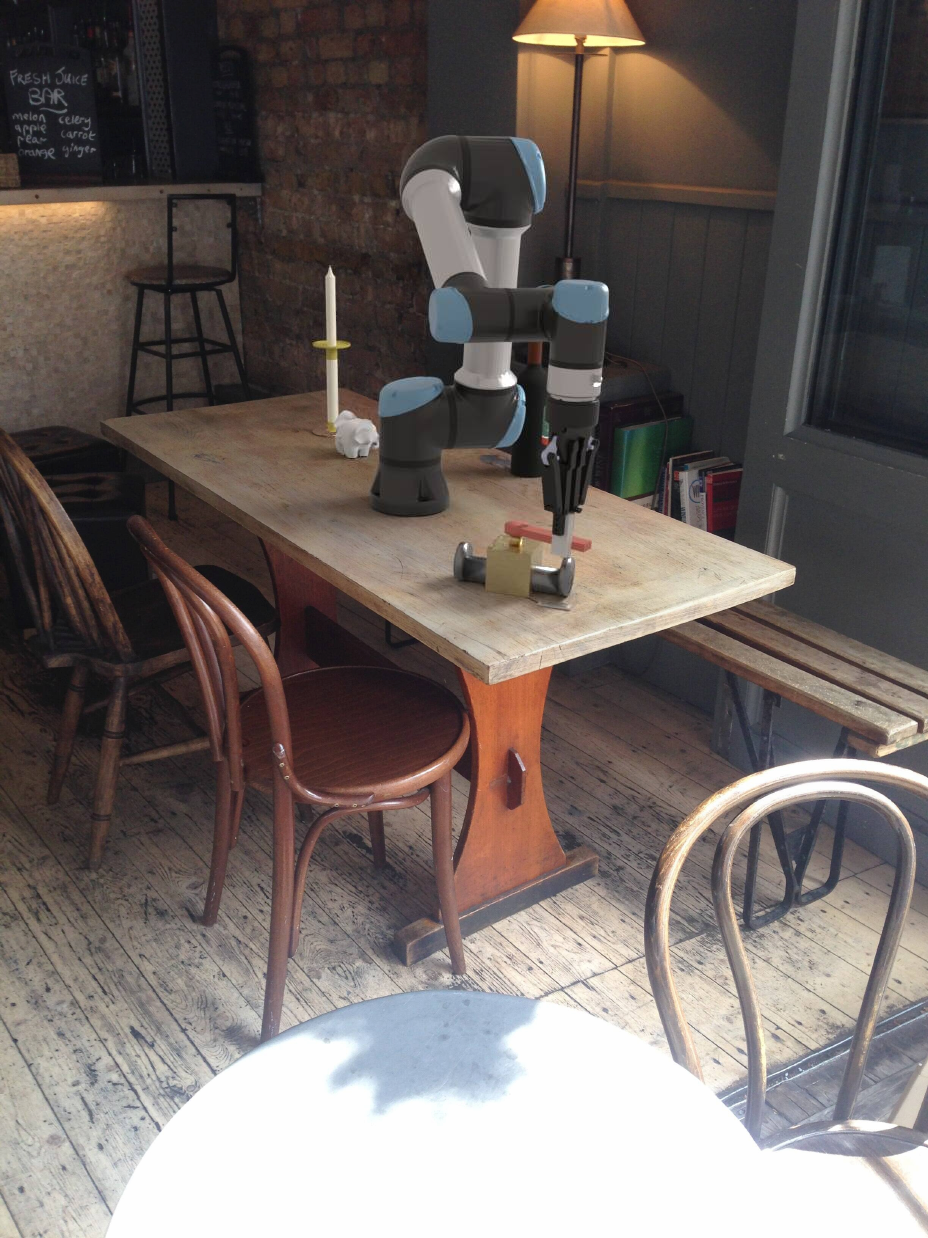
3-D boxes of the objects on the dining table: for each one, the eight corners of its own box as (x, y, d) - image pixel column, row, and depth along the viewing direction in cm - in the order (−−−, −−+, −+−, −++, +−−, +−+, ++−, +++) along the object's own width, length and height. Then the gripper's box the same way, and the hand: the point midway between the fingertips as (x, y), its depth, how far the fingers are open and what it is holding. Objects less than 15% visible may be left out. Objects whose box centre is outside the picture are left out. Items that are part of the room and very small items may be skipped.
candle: (352, 438, 251) (350, 267, 236) (308, 436, 251) (303, 266, 236) (356, 427, 260) (355, 262, 245) (314, 425, 260) (310, 261, 245)
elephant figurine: (393, 456, 238) (393, 415, 235) (344, 463, 232) (343, 422, 229) (371, 445, 246) (371, 406, 242) (323, 452, 239) (322, 412, 236)
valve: (446, 590, 169) (448, 537, 166) (466, 570, 177) (467, 519, 174) (569, 610, 164) (573, 555, 160) (583, 588, 172) (587, 536, 168)
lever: (499, 532, 168) (500, 525, 167) (512, 526, 170) (512, 519, 170) (581, 553, 160) (582, 545, 160) (593, 547, 163) (593, 539, 163)
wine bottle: (508, 467, 233) (515, 323, 221) (543, 467, 234) (552, 323, 221) (512, 477, 226) (520, 329, 214) (548, 477, 227) (558, 329, 215)
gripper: (569, 406, 147) (557, 571, 156) (620, 394, 156) (605, 550, 165) (524, 397, 151) (514, 558, 160) (576, 386, 160) (564, 538, 169)
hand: (560, 554), depth 163 cm, fingers closed
